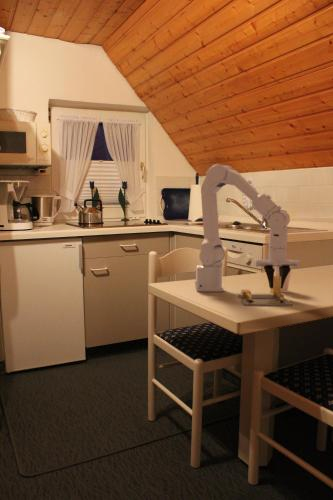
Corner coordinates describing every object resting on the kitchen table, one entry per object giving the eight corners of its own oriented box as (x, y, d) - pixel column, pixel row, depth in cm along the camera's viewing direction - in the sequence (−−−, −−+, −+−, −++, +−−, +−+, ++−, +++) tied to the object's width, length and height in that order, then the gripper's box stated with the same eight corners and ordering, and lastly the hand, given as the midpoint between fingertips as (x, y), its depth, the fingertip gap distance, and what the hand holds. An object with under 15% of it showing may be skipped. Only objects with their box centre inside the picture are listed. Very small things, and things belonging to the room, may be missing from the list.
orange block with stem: (277, 301, 133) (278, 281, 132) (270, 294, 142) (270, 275, 141) (285, 301, 133) (286, 281, 132) (277, 294, 142) (278, 275, 141)
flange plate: (244, 305, 130) (244, 303, 130) (240, 300, 136) (240, 298, 136) (291, 305, 131) (292, 303, 130) (286, 301, 136) (286, 299, 136)
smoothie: (278, 293, 146) (280, 253, 143) (269, 289, 152) (271, 251, 150) (295, 292, 147) (297, 253, 145) (285, 288, 153) (286, 250, 151)
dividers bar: (242, 303, 133) (242, 296, 132) (237, 296, 141) (237, 289, 141) (289, 303, 133) (290, 296, 132) (281, 296, 142) (281, 289, 141)
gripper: (258, 249, 133) (256, 290, 135) (303, 249, 134) (301, 290, 136) (253, 245, 140) (252, 285, 142) (296, 246, 141) (294, 285, 143)
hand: (275, 287), depth 139 cm, fingers closed on orange block with stem, 3 cm apart
